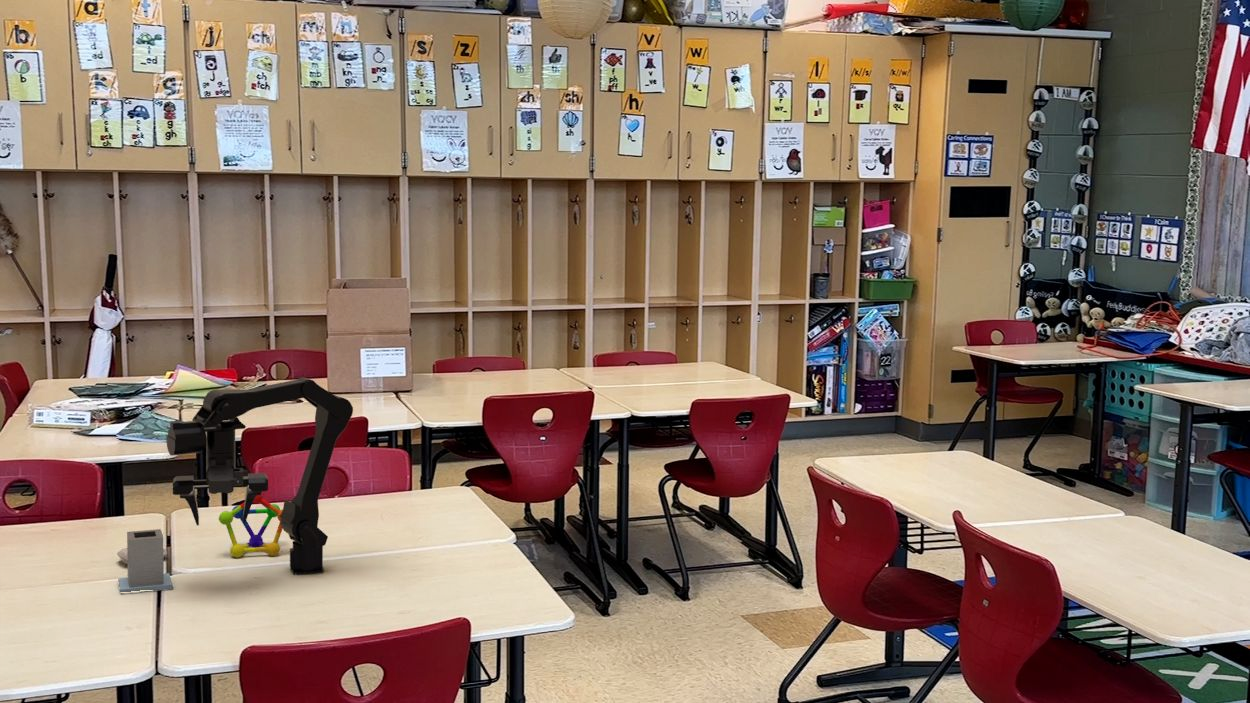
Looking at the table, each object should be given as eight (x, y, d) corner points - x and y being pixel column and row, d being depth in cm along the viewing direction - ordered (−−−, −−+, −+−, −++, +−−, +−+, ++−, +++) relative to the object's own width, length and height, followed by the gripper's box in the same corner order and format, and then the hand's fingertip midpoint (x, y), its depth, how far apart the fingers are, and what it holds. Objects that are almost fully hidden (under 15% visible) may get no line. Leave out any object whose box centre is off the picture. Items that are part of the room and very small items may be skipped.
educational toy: (277, 545, 279) (284, 483, 278) (288, 560, 268) (295, 496, 267) (209, 545, 272) (216, 482, 271) (218, 561, 261) (224, 495, 260)
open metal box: (161, 575, 248) (160, 529, 247) (164, 584, 242) (163, 537, 241) (127, 578, 245) (126, 531, 244) (129, 587, 239) (128, 540, 238)
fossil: (128, 537, 264) (173, 540, 265) (126, 555, 265) (172, 558, 265) (108, 549, 252) (156, 552, 253) (107, 568, 253) (154, 572, 254)
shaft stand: (169, 577, 249) (169, 557, 249) (172, 589, 242) (172, 568, 242) (118, 582, 245) (117, 562, 244) (120, 594, 238) (120, 573, 237)
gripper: (171, 460, 233) (172, 536, 234) (269, 457, 239) (269, 531, 241) (173, 449, 243) (174, 522, 245) (267, 446, 249) (267, 517, 251)
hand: (221, 523), depth 245 cm, fingers open, 9 cm apart
